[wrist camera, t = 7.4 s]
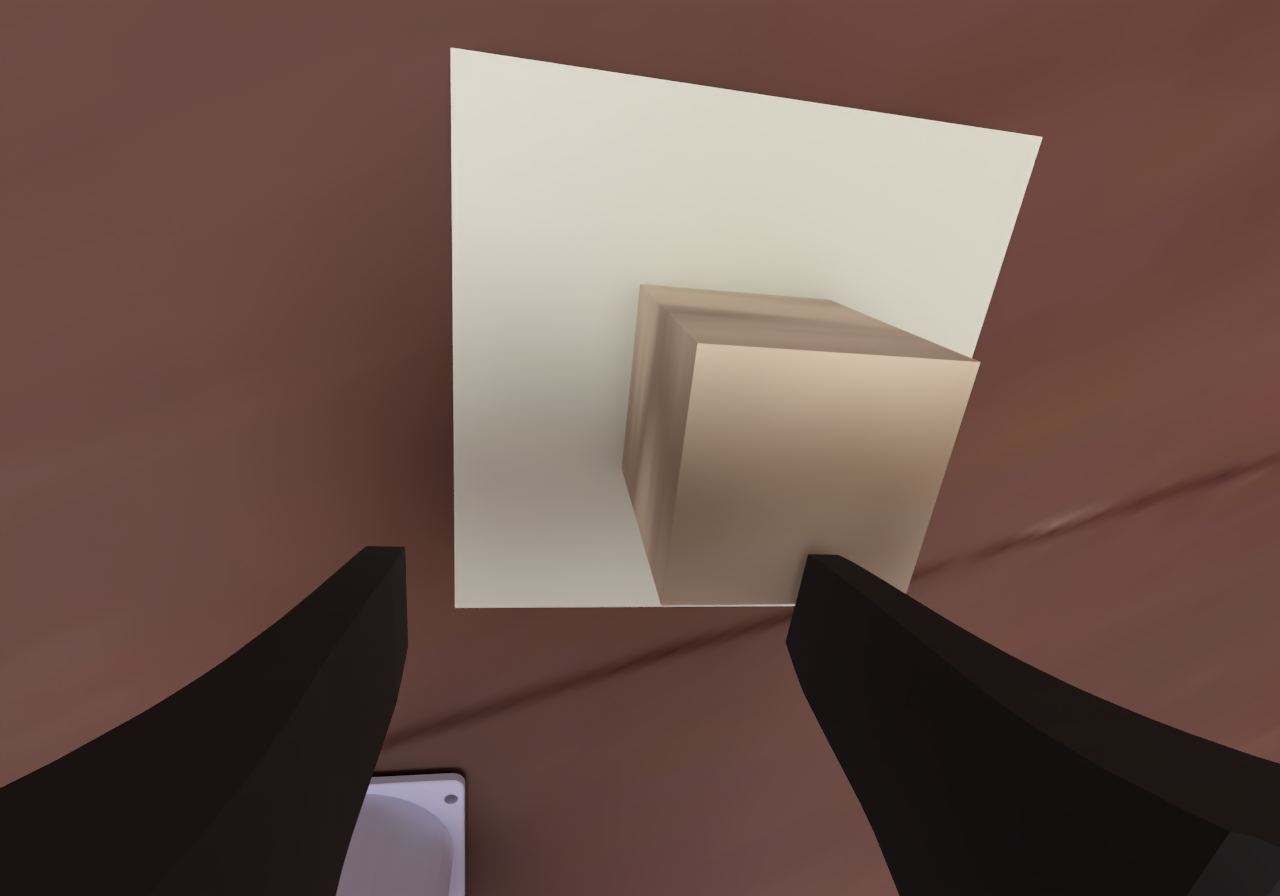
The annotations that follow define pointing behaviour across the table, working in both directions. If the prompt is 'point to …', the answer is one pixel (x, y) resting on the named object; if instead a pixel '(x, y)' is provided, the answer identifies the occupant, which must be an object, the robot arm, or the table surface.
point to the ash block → (782, 441)
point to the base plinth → (667, 278)
